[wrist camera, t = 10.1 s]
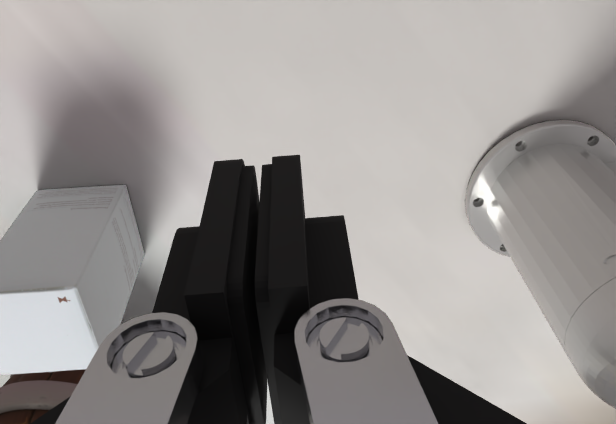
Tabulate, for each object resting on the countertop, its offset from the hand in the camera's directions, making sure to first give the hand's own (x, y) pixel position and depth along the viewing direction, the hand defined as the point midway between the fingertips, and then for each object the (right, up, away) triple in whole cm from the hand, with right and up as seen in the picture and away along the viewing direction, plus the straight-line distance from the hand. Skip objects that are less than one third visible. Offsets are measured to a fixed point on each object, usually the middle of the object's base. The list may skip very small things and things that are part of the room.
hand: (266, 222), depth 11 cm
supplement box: (-17, -1, +34) cm, 38 cm away
